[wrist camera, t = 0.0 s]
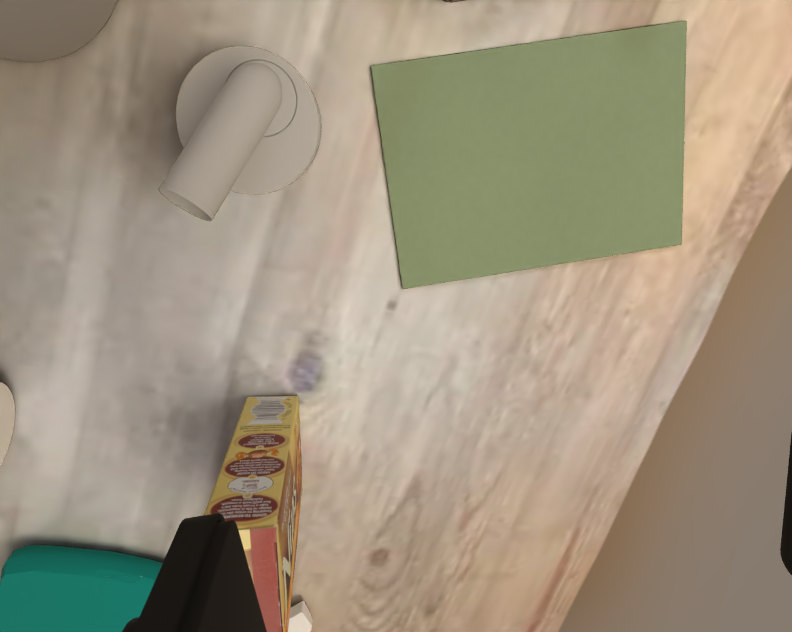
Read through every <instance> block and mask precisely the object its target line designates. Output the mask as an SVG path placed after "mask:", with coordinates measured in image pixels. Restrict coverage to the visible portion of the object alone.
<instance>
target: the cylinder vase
mask: <svg viewBox="0 0 792 632" xmlns="http://www.w3.org/2000/svg"><path fill="white" fill-rule="evenodd" d="M116 2H117V0H0V58H4V59H9V60H15V61H26V62H35V61H45V60H51V59H55V58H59V57H62V56H65V55H67V54H70V53H72V52H74V51H76V50H78V49H79V48H81V47H82V46H84V45H85V44H87V43H88V42H89V41H90V40H91V39H93V38H94V37H95V36H96V35H97V34H98V32H99V31H100V30H101V29H102V28H103V26H104V25H105V23H106V22H107V20H108V19H109V17H110V15H111V13H112V11H113V9H114V7H115V4H116Z"/></svg>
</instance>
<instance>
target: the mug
mask: <svg viewBox="0 0 792 632" xmlns="http://www.w3.org/2000/svg"><path fill="white" fill-rule="evenodd" d="M14 422H15V404H14V399H13V396H12V393H11V391H10V389H9V388H8V387H7V386H6V385H5V384H4V383H2V382H0V466H1V464H2V462H3V460H4V458H5V456H6V453H7V451H8V448H9V445H10V442H11V438H12V434H13V429H14Z"/></svg>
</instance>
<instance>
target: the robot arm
mask: <svg viewBox="0 0 792 632" xmlns="http://www.w3.org/2000/svg"><path fill="white" fill-rule="evenodd" d="M789 456H790V457H789V466H788V477H787V486H786V497H785V508H784V518H783V528H782V539H781V549H780V550H781V557H782V561H783V563H784V565H785V567H786V568H787V570H788V571H789V573H790V574H791V575H792V434H791V445H790V455H789ZM122 632H267V630H266V627H265V623H264V620H263V616H262V613H261V609H260V605H259V602H258V598H257V595H256V591H255V587H254V584H253V580H252V577H251V573H250V570H249V566H248V562H247V559H246V555H245V552H244V548H243V544H242V541H241V537H240V534H239V530H238V527H237V524H236V522H235V521H234V520H229V521H225V519H224V517H223V515H222V514H220V513H215V514H209V515H203V516H198V517H192V518H186V519H184V520H182V522H181V524H180V525H179V528H178V530H177V532H176V535H175V537H174V539H173V541H172V544H171V546H170V548H169V551H168V553H167V555H166V557H165V560H164V562H163V564H162V567H161V569H160V571H159V573H158V576H157V578H156V580H155V582H154V585H153V587H152V589H151V592H150V594H149V596H148V598H147V601H146V603H145V605H144V608H143V610H142V612H141V614H140V617H137V618H133V619H132V620H130V621H129V622H128V623H127V624H126V626H125V627H124V629H123V631H122Z"/></svg>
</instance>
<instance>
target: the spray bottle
mask: <svg viewBox="0 0 792 632" xmlns="http://www.w3.org/2000/svg"><path fill="white" fill-rule="evenodd" d="M162 564H163V563H161V562H157V561H154V560H150V559H146V558H142V557H138V556H133V555H128V554H123V553H118V552H113V551H102V550H92V549H82V548H72V547H62V546H46V545H30V546H24V547H22V548H19V549H17V550H15V551H14V552H13V553H12V554H11V556H10V557H9V558H8V559H7V561H6V562H5V564H4V566H3V568H2V574H1V582H0V632H122V631H123V629H124V627H125V626H126V624H127V623H128V622H129V621H130V620H132V619H133V618H137V617H140V614H141V612H142V610H143V608H144V605H145V603H146V601H147V598H148V596H149V594H150V592H151V589H152V587H153V585H154V582H155V580H156V578H157V576H158V573H159V571H160V569H161V567H162ZM311 628H312V617H311V615H310V613H309V611H308V609H307V606H306V604H305V602H304V601H301V602H300V603H298V604H297V605H295V606H293V607H290V617H289V627H288V632H311Z"/></svg>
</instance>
